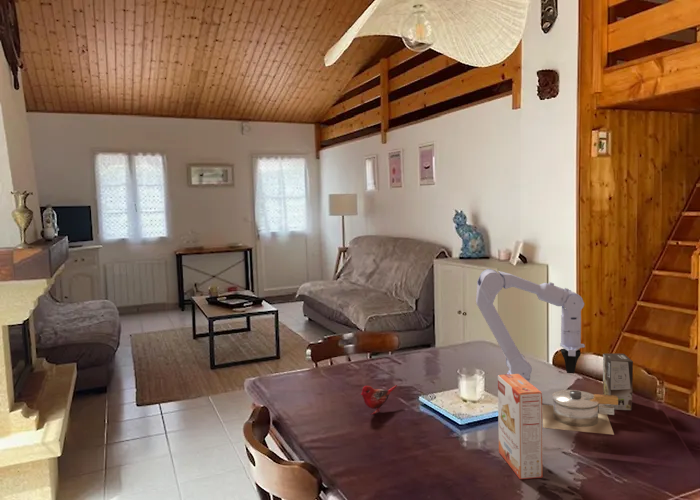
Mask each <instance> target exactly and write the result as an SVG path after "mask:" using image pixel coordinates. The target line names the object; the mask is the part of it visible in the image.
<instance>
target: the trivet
mask: <svg viewBox="0 0 700 500" xmlns="http://www.w3.org/2000/svg"><path fill="white" fill-rule="evenodd" d="M543 428H544V429H552V430H553V429H554V430H564V431H572V432H573V431H574V432H581V433H582V432H583V433H594V434H603V435H613V436H614V435H615V433H614V430H613V428H612V424H611V422H610V419H609V416H608V414H599V413H598V423H597V424H596V425H594V426H589V427H576V426H570V425H566V424H563V423H560V422H558V421H557V420H555V419H554V417H553V404H550V405H549V404H542V429H543Z"/></svg>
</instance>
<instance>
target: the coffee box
mask: <svg viewBox="0 0 700 500" xmlns="http://www.w3.org/2000/svg"><path fill="white" fill-rule="evenodd" d="M602 358H603V360H602V395H616V396H617V397H618V405H613V406H614V411H617V410H619V411H632V410H633V382H634V381H633V380H634V379H633V375H634V373H633V372H634V371H633V370H634V361H633V360H632V359H630V358H629V357H628V356H627V355H626V354H625V353H603V354H602ZM606 405H612V404H606Z"/></svg>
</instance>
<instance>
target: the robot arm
mask: <svg viewBox="0 0 700 500" xmlns="http://www.w3.org/2000/svg"><path fill="white" fill-rule="evenodd" d="M476 281H477V282H476V296H475V297H476V298H475V302H476V303H475V304H476V305H477V307H478V309H479V311H480V313H481V314H482V316H483V318H484V320H485V322H486V323H487V326H488V327H489V330H490V331H491V332H492V335H493V336H494V338H495V341H496V342H497V344H498V345H499V348H500V349H501V351H502V354H503V355H504V357H505V365H506V367H507V368H508V371H507V373H506V374H519V375H521V376H522V377H523V378H524V379H526V380H527V381H528V382H529V383H531V374H532V371H533V370H532V366H531V363H530V362H528V360H527V359H526V358H525V355H523V354H522V353H521V352H520V351H519V348H518V347H517V345H516V343H515V341H514V339H513V338H512V336H511V334H510V333H509V331H508V329H507V327H506V325H505V323H504V321H503V320H502V317H501V316H500V314H499V312H498V311H497V309H496V306H495V305H494V302H495V299H496V297H497V295H498V294H499V293H500V292H501V290H503V289H504V290H507V289H510V288H516V289H518V290H522V291H525V292H529V293H531V294H534V295H536V296H537V299H538V300H539V301H541V302H545V303H547V304H551V305H553V306H556V307H561V315H560V317H561V319H560V321H561V323H560V343H559V344H560V345H559V346H560V347H561V349H560V352H561V355H562V357H563V360H564V364H565V371H566V374H573V375H574V374H575V371H576V366H577V363H578V360H579V358H580V356H581V350H580V349H582V348H585V347H586V346H585V344H584V343H581V342H582V334H581V333H582V309H583V308H584V307H585V302H584V300H583V297H582V296H581V295H579V293H576V292H574V291H572V290H571V289H569V288H567V287H564V288H562V287H560V286H556V285H555V283H553V282H550V281H549V282H548V283H547V282H542V283H540V284H538V283H536V282H533V281H531V280H529V279H526V278H523V277H520V276H517V275H515V274H512V273H509V272H504V271H502V270H497V271H496V270H495V269H492V268H487V269H485V270H483V271H482V272H481V273H480V275H479V276H478V279H477V280H476Z"/></svg>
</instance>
